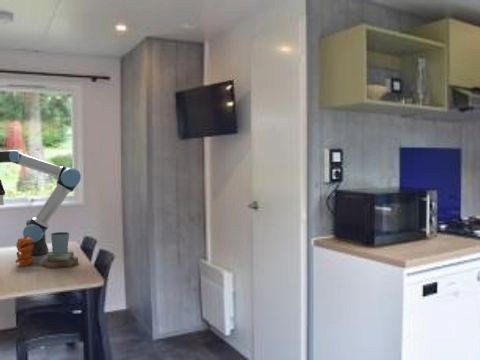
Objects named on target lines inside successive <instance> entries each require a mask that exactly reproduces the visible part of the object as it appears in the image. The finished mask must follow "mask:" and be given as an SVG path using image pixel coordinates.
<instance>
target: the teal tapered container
mask: <svg viewBox="0 0 480 360" xmlns="http://www.w3.org/2000/svg"><path fill="white" fill-rule="evenodd" d="M50 237H51V247H52V251H51V252H52V253H53V254H65V253H67V252H68V250H69V249H68V248H69V239H70V233H69V232H67V231H64V232H63V231H59V232H52V233H50Z"/></svg>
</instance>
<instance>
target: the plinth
mask: <svg viewBox="0 0 480 360" xmlns="http://www.w3.org/2000/svg"><path fill="white" fill-rule="evenodd" d="M74 255H75V253H74V251H73V250H69V249H68V252H67V253H65V254H53V253H52V251H49V252H48V253H46V257H47V258H44V259H42V267H44V268H47V269H65V268H70V267H74V266H77V265H78V264H79V257H78V256H74Z"/></svg>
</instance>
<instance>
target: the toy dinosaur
mask: <svg viewBox="0 0 480 360" xmlns="http://www.w3.org/2000/svg"><path fill="white" fill-rule="evenodd" d="M29 237H30V236H29ZM29 237H27V236H26V237H23V236H22V237H20V238H18V239H17V242H16V246H15V248H16V250H17V252H16V260H14V262H15V263H16V264H18V265H19V266H20V267H28V266H30V265H32V264H33V263H34V262H35V258H34V257H33V256H32V255H31V254H32V253H31V250H32V249H33V247H34V246H33V245H28V244H29V243H32V242H33V240H32V239H31V238H29Z"/></svg>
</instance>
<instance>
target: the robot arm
mask: <svg viewBox="0 0 480 360" xmlns="http://www.w3.org/2000/svg"><path fill="white" fill-rule="evenodd" d="M0 163H2V164H3V163H13V164H15V165H19V166H21V167H25V168H28V169H30V170H33V171H37V172H40V173H43V174H46V175H48V176H52V177H55V178H56V179H57V180H56V182H55V183H56V187H55V188H54V190H53V191H52V193H51V194H50V196H49V197H48V198H47V200H46V201H45V203H44V204H43V206H41V209H40V210H39V212H38V213H37V215H36V216H34V217H31V218H30V219H27V220H26V222H25V224H26V226H25V227H24V228H23V231H22V238H23V237H26V236H27V237H29V236H30V237H29V238H31V239H32V240H33V242H32V243H29V244H28V245H33V246H34V247H33V249H32V250H31V253H32V254H31V256H40V255H47V253H49V252H50V251H49V247H48V244H47V241H46V232H47V230H48V228H49V223H50V221H51V220H52V219H53V217H54V216H55V214H56V212H57V211H58V210H59V208H60V206H62V204H63V202H64V200H65V199H66V198H67V196H68V194H69V193H72V192H73V191H74V190H75V188H76V187H77V186H78V185H79V183H80V181H81V180H82V179H81V177H82V176H81V175H82V174H81V173H80V171H79V170H78V169H76V168H73V167H66V166H64V165H62V166H59V165H56V164H53V163H50V162H49V161H48V162H47V161H44V160H41V159H40V158H39V159H38V158H36V157H32V156H30V155H27V154H24V153H21V152H19V150H18V149H17V150H16V149H14V150H13V149H11V150H8V149H7V150H0ZM2 182H3V181H2V179H0V206H4V203H5V202H4V196H5V194H6V191H5V187H4V185H3V183H2Z"/></svg>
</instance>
